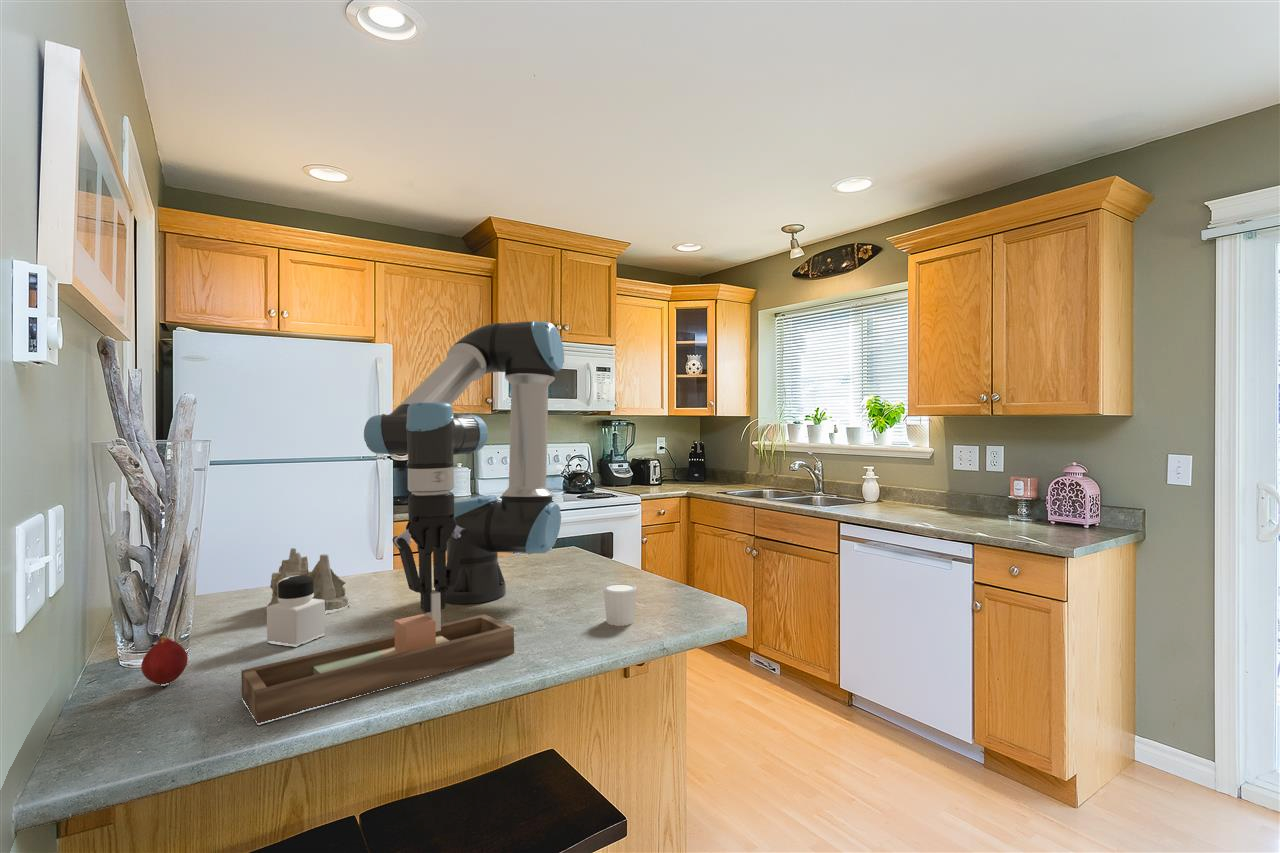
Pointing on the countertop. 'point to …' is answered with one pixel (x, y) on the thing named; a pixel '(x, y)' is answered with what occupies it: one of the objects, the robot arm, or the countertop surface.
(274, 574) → the rock mountain model
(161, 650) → the onion
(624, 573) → the countertop surface
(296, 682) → the brown wooden long tray
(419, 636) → the block
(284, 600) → the medicine bottle
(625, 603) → the white cup
